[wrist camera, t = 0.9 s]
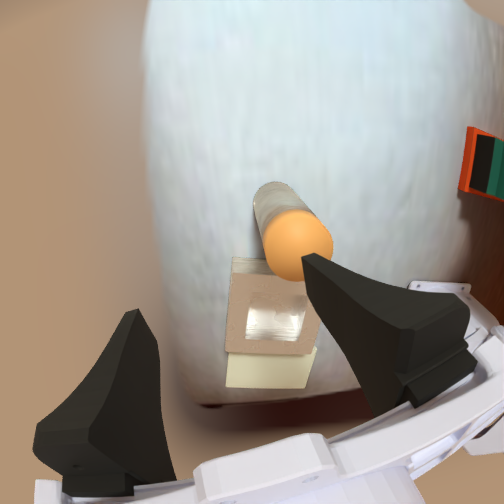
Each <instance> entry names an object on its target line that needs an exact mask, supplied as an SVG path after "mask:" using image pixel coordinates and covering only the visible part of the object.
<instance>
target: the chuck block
mask: <svg viewBox="0 0 504 504" xmlns="http://www.w3.org/2000/svg"><path fill="white" fill-rule="evenodd" d="M320 322H321V319H320V318H319V316H318V315H317V313H316V312H315V310H314V308H313V306H312V304H311V302H310V300H309V298H308V296H307V293H306V287H305V281H301V282H293V281H287V280H285V279H282V278H280V277H279V276H277V275H276V274H275V273H274V272H273V271H272V270H271V268H270V267H269V265H268V262H267V260H266V259H253V258H241V257H232V267H231V278H230V288H229V299H228V310H227V321H226V335H225V352H242V353H264V354H312V350H313V347H314V343H315V340H316V336H317V333H318V329H319V326H320Z"/></svg>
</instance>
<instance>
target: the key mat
mask: <svg viewBox="0 0 504 504" xmlns="http://www.w3.org/2000/svg"><path fill="white" fill-rule="evenodd" d="M316 351H317V349H316V347H313V350H312V354H264V353H242V352H229V354H228V364H227V375H226V387H238V388H275V389H293V388H305V386H306V383H307V380H308V376H309V373H310V370H311V367H312V364H313V361H314V357H315V354H316Z"/></svg>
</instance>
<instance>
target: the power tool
mask: <svg viewBox="0 0 504 504" xmlns="http://www.w3.org/2000/svg"><path fill="white" fill-rule="evenodd" d="M458 189H460V190H462V191H465V192H469V193H473V194H477V195H480V196H484V197H488V198H491V199H495V200H498V201H502V202H504V140H502V139H500V138H497V137H495V136H493V135H491V134H489V133H486V132H484V131H482V130H480V129H477V128H475V127H469V126H467V134H466V142H465V149H464V156H463V162H462V168H461V174H460V180H459V185H458Z"/></svg>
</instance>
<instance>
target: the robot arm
mask: <svg viewBox="0 0 504 504" xmlns="http://www.w3.org/2000/svg"><path fill="white" fill-rule="evenodd" d="M301 261H302V267H303V273H304V280H305V287H306V293H307V296H308V298H309V300H310V302H311V304H312V306H313V308H314V310H315V312H316V313H317V315H318V316H319V318H320V319H321V320H322V322H323V323H324V325H325V326H326V328H327V329H328V331H329V332H330V333H331V335H332V336H333V338H334V339H335V341H336V342H337V343H338V345H339V346H340V348H341V350H342V351H343V353H344V354H345V356H346V358H347V360H348V362H349V364H350V366H351V368H352V370H353V372H354V374H355V376H356V378H357V380H358V382H359V384H360V386H361V388H362V390H363V392H364V394H365V397H366V399H367V401H368V403H369V405H370V408H371V410H372V413H373V415H374V417H375V418H374V419H372V420H370V421H368V422H366V423H364V424H362V425H359V426H357V427H355V428H353V429H351V430H348V431H346V432H344V433H341V434H339V435H336V436H334V437H332V438H329V439H327V440H326V438H325V437H324V436H323V435H321V434H318V433H304V434H300V435H296V436H291V437H288V438H285V439H282V440H279V441H276V442H273V443H270V444H266V445H263V446H260V447H256V448H253V449H249V450H246V451H242V452H238V453H235V454H231V455H227V456H222V457H219V458H215V459H212V460H209V461H206V462H203V463H201V464H200V465H199V466H198V467H197V468H196V469H195V470H194V471H193V475H194V478H191V479H184V480H178V481H177V479H176V476H175V473H174V469H173V466H172V462H171V458H170V454H169V450H168V446H167V441H166V437H165V431H164V425H163V419H162V413H161V397H160V358H159V351H158V344H157V340H156V339H155V337H154V335H153V334H152V332H151V330H150V328H149V327H148V325H147V323H146V322H145V319H144V318H143V316H142V314H141V312H140V311H139V309H135V310H132V311H128V312H126V313H125V314H124V316H123V318H122V319H121V321H120V323H119V325H118V326H117V328H116V330H115V332H114V333H113V335H112V337H111V339H110V341H109V343H108V344H107V346H106V347H105V349H104V351H103V352H102V354H101V355H100V357H99V359H98V360H97V362H96V363H95V365H94V366H93V368H92V369H91V370H90V372H89V373H88V375H87V376H86V377H85V378H84V380H83V381H82V382H81V383H80V384H79V385H78V387H77V388H76V389H75V390H74V391H73V392H72V394H71V395H70V396H69V397H68V398H67V399H66V400H65V401H64V402H63V403H62V404H60V405H59V406H58V407H57V408H56V409H55V410H54V411H53V412H52V413H50V414H49V415H48V416H46V417H45V418H44V419H43V420H41V421H40V422H39V423H38V424H37V426H36V432H35V437H34V443H33V452H34V454H35V456H36V457H37V458H38V459H39V460H40V461H41V462H43V463H44V464H46V465H47V466H49V467H50V468H52V469H53V470H55V471H56V472H58V473H59V474H61V475H62V476H63V479H62V482H60V481H57V480H42V479H37V480H36V483H35V496H34V504H426V503H425V501H424V499H423V498H422V496H421V494H420V492H419V490H418V489H417V487H416V485H415V483H414V482H413V480H415V479H416V478H418V477H420V476H421V475H423V474H424V473H426V472H427V471H429V470H430V469H432V468H433V467H435V466H436V465H437V464H439V463H440V462H442V461H443V460H445V459H446V458H447V457H449V456H450V455H451V454H453V453H454V452H455V451H457V450H458V449H459V448H461V447H462V448H463V449H464V450H465V451H466V452H467V453H469V455H471V456H477V455H485V454H492V453H504V413H503V412H504V327H503V326H502V325H500V324H499V322H498V320H497V319H496V318H495V317H494V316H493V315H492V314H491V313H490V312H489V311H488V310H487V309H486V308H485V307H484V306H483V305H482V304H481V303H479V302H478V301H477V300H476V299H475V298H474V297H473V296H472V295H471V294H470V293H469V292H470V290H471V285H470V284H469V283H448V282H428V281H412V282H411V283H410V285H409V287H408V289H406V288H401V287H396V286H392V285H388V284H385V283H382V282H379V281H375V280H372V279H370V278H367V277H365V276H362V275H360V274H357V273H355V272H353V271H350V270H348V269H346V268H344V267H342V266H340V265H338V264H336V263H334V262H332V261H330V260H328V259H326V258H324V257H322V256H320V255H318V254H316V253H311V254H308V255H305V256H302V257H301ZM417 285H418V287H417ZM502 413H503V415H502V416H501V417H500V418H499V419H498V420H497V421H496V422H495V423H494V424H492V425H491V426H489V427H487V428H485V427H486V426H488V425H489V424H490V423H491V422H492V421H493V420H495V419H496V418H497V417H498V416H499V415H500V414H502Z"/></svg>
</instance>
